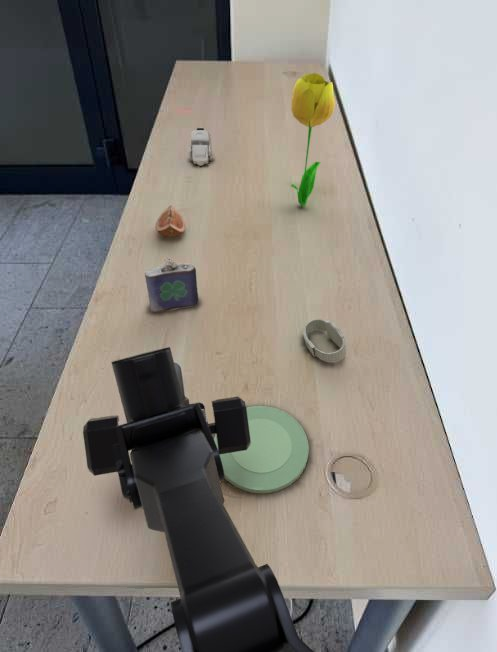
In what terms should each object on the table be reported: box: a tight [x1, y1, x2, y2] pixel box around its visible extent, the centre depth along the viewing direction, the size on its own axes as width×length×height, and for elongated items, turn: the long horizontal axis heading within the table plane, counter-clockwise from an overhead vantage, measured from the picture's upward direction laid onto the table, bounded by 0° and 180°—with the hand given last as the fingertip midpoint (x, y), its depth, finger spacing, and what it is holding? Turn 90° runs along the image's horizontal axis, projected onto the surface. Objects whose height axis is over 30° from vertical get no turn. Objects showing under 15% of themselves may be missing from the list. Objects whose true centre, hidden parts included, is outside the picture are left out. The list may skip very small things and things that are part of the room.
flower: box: [290, 72, 336, 209], centre depth 109 cm, size 9×8×30 cm
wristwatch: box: [302, 318, 347, 363], centre depth 84 cm, size 9×6×5 cm
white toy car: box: [188, 127, 213, 167], centre depth 133 cm, size 6×7×10 cm
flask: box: [144, 257, 199, 314], centre depth 90 cm, size 9×3×11 cm, turn 105°
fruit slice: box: [155, 205, 187, 237], centre depth 109 cm, size 8×7×5 cm
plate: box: [213, 405, 310, 494], centre depth 71 cm, size 14×14×1 cm
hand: (170, 422), depth 65 cm, fingers closed
